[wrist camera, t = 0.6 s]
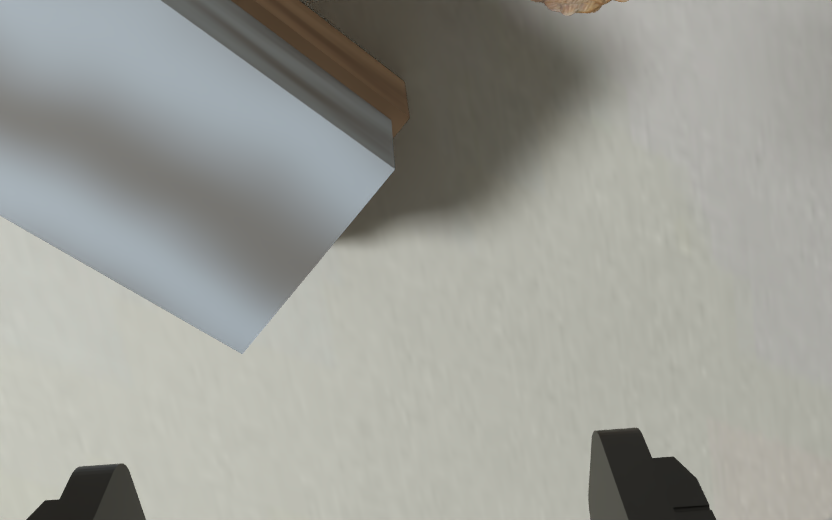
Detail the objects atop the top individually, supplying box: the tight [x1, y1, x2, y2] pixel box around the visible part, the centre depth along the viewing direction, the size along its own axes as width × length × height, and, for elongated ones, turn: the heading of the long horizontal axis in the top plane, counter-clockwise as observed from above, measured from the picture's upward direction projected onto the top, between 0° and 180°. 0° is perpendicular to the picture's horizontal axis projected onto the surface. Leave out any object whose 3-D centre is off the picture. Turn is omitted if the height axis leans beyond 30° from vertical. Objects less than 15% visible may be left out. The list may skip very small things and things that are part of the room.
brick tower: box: [0, 0, 410, 354], centre depth 28 cm, size 10×15×10 cm, turn 51°
